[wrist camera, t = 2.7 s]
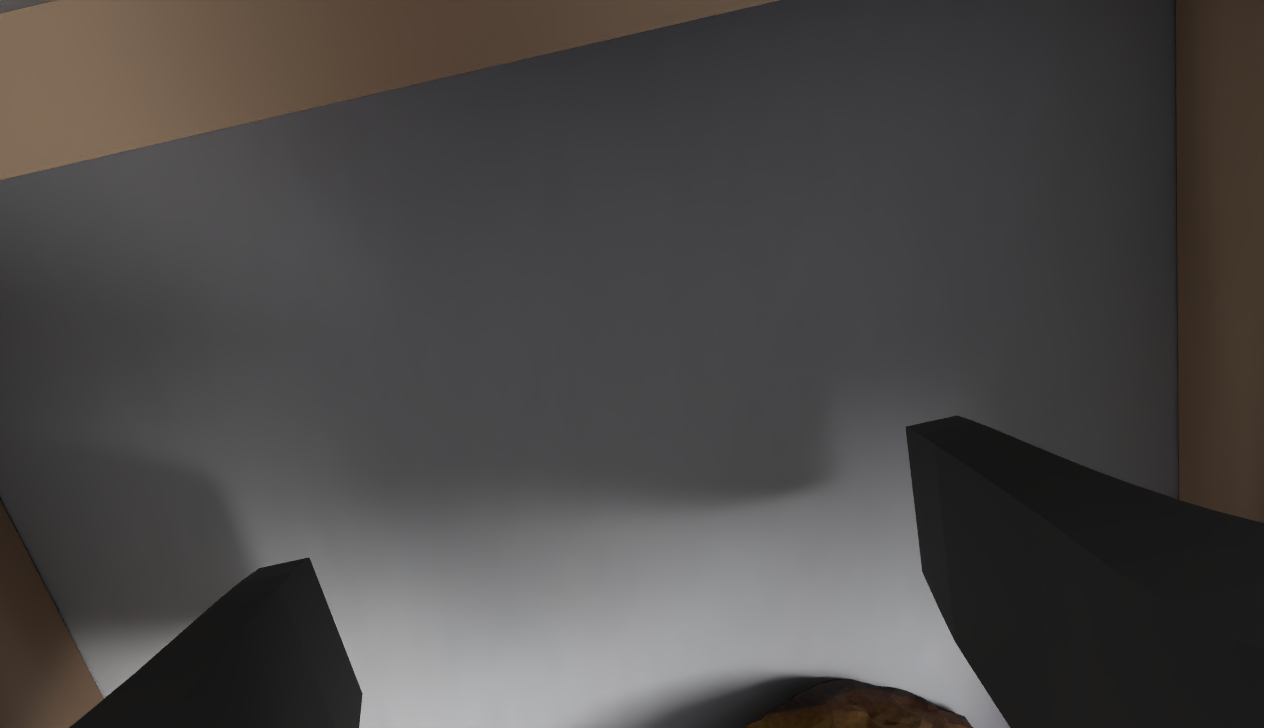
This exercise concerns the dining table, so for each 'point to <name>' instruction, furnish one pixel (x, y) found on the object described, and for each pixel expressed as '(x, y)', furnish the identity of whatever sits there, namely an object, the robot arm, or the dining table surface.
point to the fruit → (858, 709)
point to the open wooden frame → (537, 25)
